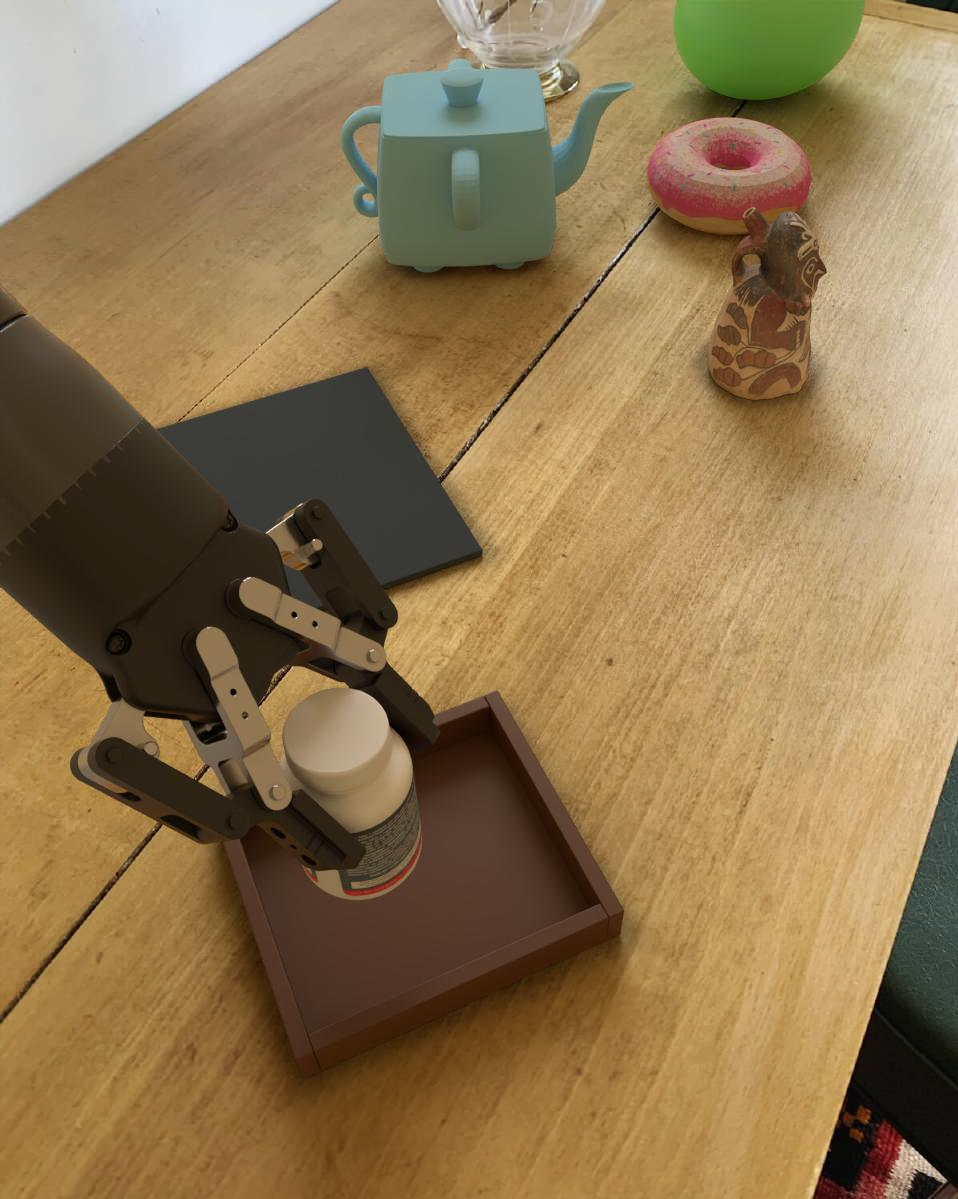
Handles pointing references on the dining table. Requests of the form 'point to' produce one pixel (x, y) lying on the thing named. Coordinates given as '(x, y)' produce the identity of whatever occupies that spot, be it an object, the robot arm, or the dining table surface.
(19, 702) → the dining table surface
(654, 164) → the donut
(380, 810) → the pill bottle
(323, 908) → the tray
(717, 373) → the figurine
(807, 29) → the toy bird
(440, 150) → the teapot
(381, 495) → the mat
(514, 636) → the dining table surface
